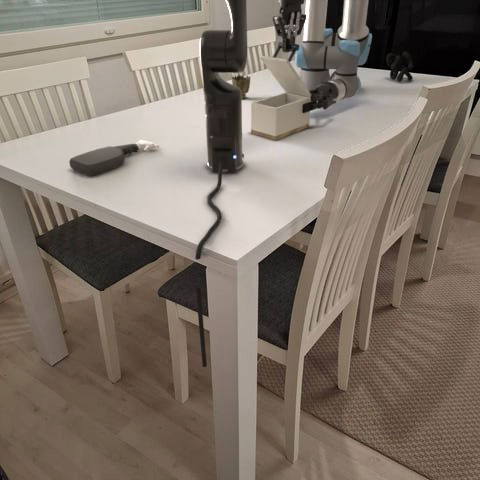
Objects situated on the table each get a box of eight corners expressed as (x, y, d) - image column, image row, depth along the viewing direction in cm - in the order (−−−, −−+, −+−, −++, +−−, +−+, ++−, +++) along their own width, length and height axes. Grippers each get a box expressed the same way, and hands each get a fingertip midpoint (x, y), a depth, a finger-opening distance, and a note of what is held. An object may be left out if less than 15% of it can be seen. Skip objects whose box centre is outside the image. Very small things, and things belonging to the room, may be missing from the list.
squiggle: (400, 92, 202) (376, 71, 205) (417, 76, 202) (392, 56, 205) (405, 81, 191) (380, 59, 194) (423, 64, 191) (397, 42, 194)
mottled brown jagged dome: (228, 98, 178) (228, 78, 173) (237, 94, 183) (237, 74, 179) (245, 101, 175) (245, 79, 170) (253, 96, 180) (253, 75, 176)
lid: (286, 61, 127) (299, 38, 127) (260, 57, 133) (272, 35, 133) (310, 97, 141) (321, 76, 141) (285, 91, 147) (296, 71, 147)
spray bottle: (67, 168, 120) (139, 144, 136) (91, 178, 114) (163, 151, 130) (65, 157, 118) (137, 134, 134) (89, 167, 112) (162, 142, 128)
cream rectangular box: (275, 140, 136) (276, 108, 131) (251, 133, 142) (250, 102, 137) (308, 127, 146) (310, 97, 141) (284, 121, 152) (285, 92, 147)
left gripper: (296, -16, 131) (292, 48, 140) (265, -15, 123) (263, 52, 131) (317, -15, 127) (312, 50, 135) (286, -15, 118) (283, 55, 127)
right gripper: (356, 109, 152) (318, 124, 138) (303, 97, 165) (263, 110, 152) (359, 86, 148) (319, 99, 134) (304, 76, 161) (263, 88, 148)
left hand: (288, 51), depth 133 cm, fingers closed on lid
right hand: (289, 105), depth 143 cm, fingers closed on cream rectangular box, 10 cm apart
